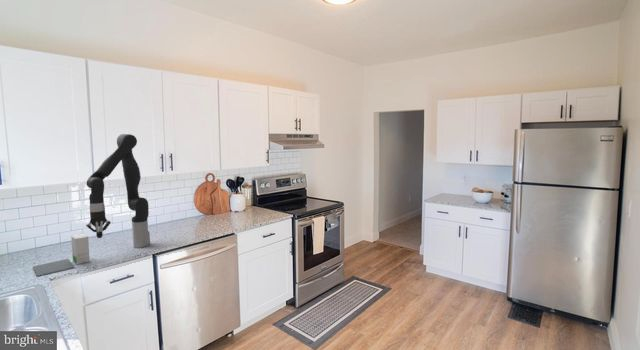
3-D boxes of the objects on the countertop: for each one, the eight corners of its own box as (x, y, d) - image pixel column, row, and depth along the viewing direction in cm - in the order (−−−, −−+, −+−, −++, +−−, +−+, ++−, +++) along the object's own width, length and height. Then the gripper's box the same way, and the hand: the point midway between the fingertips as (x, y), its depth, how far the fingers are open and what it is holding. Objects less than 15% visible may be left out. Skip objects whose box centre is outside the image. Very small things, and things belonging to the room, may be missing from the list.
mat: (68, 259, 195) (68, 258, 195) (74, 267, 183) (74, 266, 182) (33, 267, 183) (32, 266, 183) (37, 276, 171) (37, 275, 171)
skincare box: (72, 261, 192) (70, 235, 190) (85, 258, 197) (83, 233, 196) (77, 264, 187) (74, 238, 185) (90, 261, 192) (88, 235, 190)
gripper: (108, 207, 203) (110, 234, 205) (82, 210, 194) (85, 238, 196) (111, 209, 198) (113, 236, 200) (85, 212, 189) (88, 241, 191)
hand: (99, 237), depth 198 cm, fingers closed
